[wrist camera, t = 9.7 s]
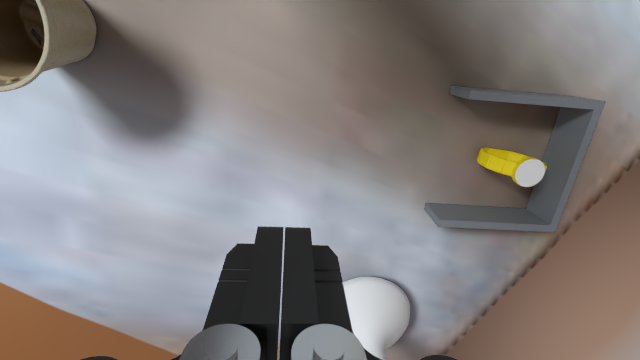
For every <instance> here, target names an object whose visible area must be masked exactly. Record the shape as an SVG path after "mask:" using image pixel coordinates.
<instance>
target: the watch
mask: <svg viewBox="0 0 640 360" xmlns="http://www.w3.org/2000/svg"><path fill="white" fill-rule="evenodd" d="M477 162H478V163H479V164H480V165H482V166H483V167H485V168H488V169H490V170H492V171H495V172H498V173H502V174H504V175H508V176H511V177H512V179H513V181H514V182H515V183H516V184H518V185H520V186H522V187H531V186H534V185H536V184H537V183H538V182H539V181H541V179H542V178H543V176H544V173H545V171H546V169H547V166H546V164H545V163H544V162H542V161H540V160H538V159H536V158H533V157H529V156H526V155H523V154H520V153H516V152H512V151H506V150H500V149H493V148H488V147H485V148H481V149H480V152H479V155H478V157H477Z"/></svg>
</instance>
